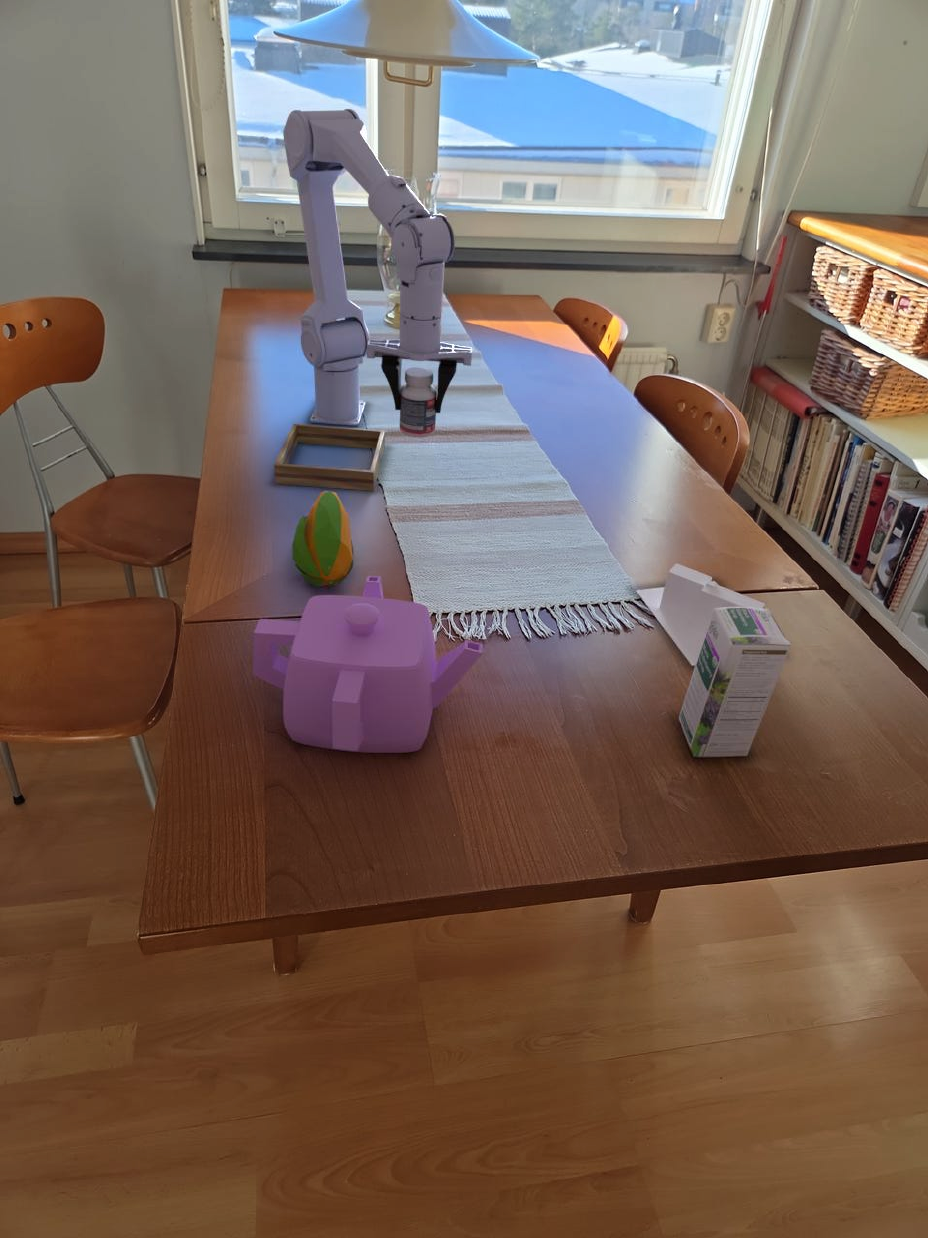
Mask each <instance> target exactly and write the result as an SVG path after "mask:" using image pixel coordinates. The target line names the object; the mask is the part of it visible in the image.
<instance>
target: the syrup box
mask: <svg viewBox="0 0 928 1238" xmlns="http://www.w3.org/2000/svg"><path fill="white" fill-rule="evenodd" d="M791 646H792V643H790V641H789V640H788V639H787V638H786V636H785V634H784V632H783V630H782V628H781V626H780V624H779V623H778V621H777V620H776V618H775V616H774V615H773V613H772V611H771V610H770V609H769V608H764V609H763V608H754V607H720V608H714V609H713V613H712V616H711V619H710V622H709V625H708V628H707V631H706V634H705V637H704V641H703V644H702V647H701V650H700V653H699V656H698V659H697V662H696V665H695V666H694V669H693V672H692V676H691V678H690V681H689V684H688V687H687V691H686V694H685V697H684V700H683V703H682V707H681V709H680V713H679V717H678V721H679V723H680V726H681V729H682V732H683V734H684V737H685V739H686V743H687V745H688V747H689V750H690V752H691V754H692V756H693V758H727V757H730V758H731V757H747V756H748V754H749V752H750V749H751V747H752V745H753V742H754V739H755V738H756V735H757V732H758V730H759V728H760V724H761V723H762V720H763V717H764V714H765V712H766V709H767V707H768V705H769V703H770V699H771V697H772V695H773V692H774V689H775V687H776V684H777V682H778V679H779V676H780V675H781V672H782V670H783V667H784V665H785V661H786V659H787V657H788V654H789V652H790V649H791Z"/></svg>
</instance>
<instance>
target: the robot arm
mask: <svg viewBox="0 0 928 1238" xmlns="http://www.w3.org/2000/svg"><path fill="white" fill-rule="evenodd" d="M282 133H283V134H282V136H283V142H284V143H283V144H284V148H285V155H286V162H287V167H288V172H289V176H290V178H292V179H293V180H295V181H296V186H297V193H298V199H299V206H300V213H301V220H302V226H303V232H304V239H305V246H306V252H307V259H308V266H309V272H310V279H311V286H312V292H313V298H314V300H313V302H312V303H311V305H310V306H309V307H308V308H307V309H306V310H305V311H304V313H303V314H302V315H301V316H300V325H301V326H300V327H301V332H300V333H301V334H300V347H301V350H302V353H303V354H302V355H303V356H304V358H305V359H306V361H307V362H308V363H309V364H310V365H311V366H313V374H314V375H313V376H314V396H315V397H314V398H315V399H314V400H315V407H314V410H313V411H312V414H311V416H310V418H309V422H310V423H312V424H313V423H314V424H316V423H317V424H326V425H327V424H328V425H338V426H339V425H340V426H354V427H357V426H359V425H360V422H361V418H362V416H363V414H364V413H363V412H364V410H365V407H366V401H365V400H361V399H360V398H361V397H360V395H361V394H360V393H361V392H360V389H361V388H360V387H361V386H360V365H362V364H363V363H364V360H363V359H364V358H365V357H366V358H367V359H376V358H381V364H380V367H381V370H382V372H383V374H384V376H385V378H386V380H387V383H388V385H389V388H390V391H391V395H392V399H393V402H394V409H395V411H400V393H401V388H402V361H403V360H411V361H414V362H425V361H427V362H439V364H438V369H437V400H436V409H435V413H436V414H441V411H442V404H443V401H444V398H445V395H446V392H447V390H448V388H449V386H450V384H451V382H452V380H453V378H454V377H455V375H456V373H457V366H458V364H462V365H463V366H466V367H467V366H468V367H470V366H472V359H473V347H470V346H461V345H457V344H451V343H447V342H443V341H442V324H443V322H442V321H443V304H444V303H443V302H444V301H443V299H444V281H445V280H444V279H445V263H448V262H449V261H451V259H452V257H453V256H454V252H455V248H456V237H455V232H454V229H453V227H452V224H451V223H450V221H449V220H448V218H447V216H446V215H444V214H442V213H437V214H435V212H433V211H428V209H427V208H426V207H425V206H424V205H423V203H422V202H421V200H420V199H419V198H418V197H417V196H416V194H415V193H414V192H413V190H411V188H410V187H409V185H408V182H407V181H406V180H405V179H404V177H403V176H398V175H393V174H392V175H389V174H388V172H387V171H386V170H385V168H384V166H383V165H382V163H381V162H380V160H379V158H378V157H377V156H376V154H375V152H374V151H373V149H372V148H371V146H370V145H369V143H368V142H367V129H366V124H365V122H364V121H363V120H362V119H361V118H360V116H359V114H358V113H357V111H356V110H354V109H352V108H345V109H343V110H342V109H341V110H340V109H339V110H300V109H293V110H292V111H291V112H290V113H289V114H288V117H287V119H286V123H285V124H284V128H283V131H282ZM346 172H348V174H350V175H351V177H352V178H353V179H354V180H355V181H356V182H357V183H358V184H359V185H360V187H361V188H362V189H363V190H364V191H365V192H366V193H367V194H368V197H367V206H368V209H369V210H370V212H371V213H372V214H373V216H374V217H375V218H376V220H377V221H378V222H379V224H380V225H381V226H382V228H383V229H384V230H385V232H386V233H387V234H388V235H389V237H390V243H391V250H392V254H393V257H394V260H395V263H396V264H395V265H396V266H395V267H396V271H395V272H396V275H397V278H398V279H399V280H400V281H399V284H400V286H399V288H400V289H399V338H398V339H371V335H370V331H369V329H368V327H367V324H366V321H365V317H364V316H365V315H364V310H363V309H361V307H359V306H358V305H357V304H355V303H354V302H353V301H351V300H350V299H349V298H348V296H349V295H348V289H347V282H346V275H345V267H344V260H343V253H342V252H343V251H342V246H341V245H342V244H341V238H340V229H339V222H338V216H337V215H338V214H337V207H336V201H335V193H334V186H335V183H336V182H337V180H338V178H339V177H340V176H343V175H344V174H345V173H346Z"/></svg>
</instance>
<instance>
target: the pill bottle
mask: <svg viewBox="0 0 928 1238" xmlns="http://www.w3.org/2000/svg"><path fill="white" fill-rule="evenodd" d="M404 382H405V383H404V384H403V385H401V393H400V410H399V431H400V433H402V434H403V435H404V436H407V437H411V438H418V439H419V438H420V439H421V438H427V437H430V436H432V435H433V434H435V432H436V420H437V419H436V418H437V413H435V409H436V400H437V392H438V390H437V389H436V388H435V387H436V386H434V385H433V383H434V371H432V370H431V369H430V368H428V367H427V368H426V367H422V366H416V367H410V368H407V369H406V370H405V371H404Z"/></svg>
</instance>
